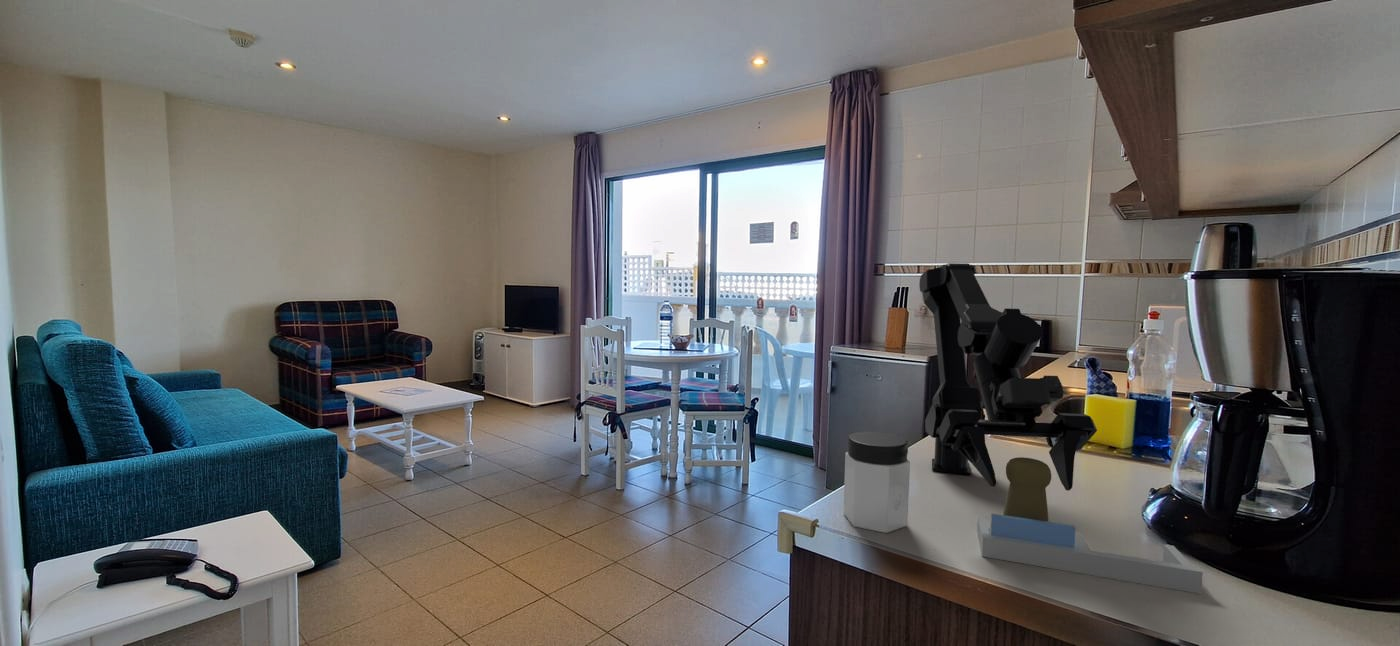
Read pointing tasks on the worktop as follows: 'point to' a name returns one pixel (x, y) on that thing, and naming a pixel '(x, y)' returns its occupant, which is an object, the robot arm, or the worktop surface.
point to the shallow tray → (1080, 553)
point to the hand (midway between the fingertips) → (1031, 487)
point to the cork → (1027, 489)
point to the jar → (876, 481)
